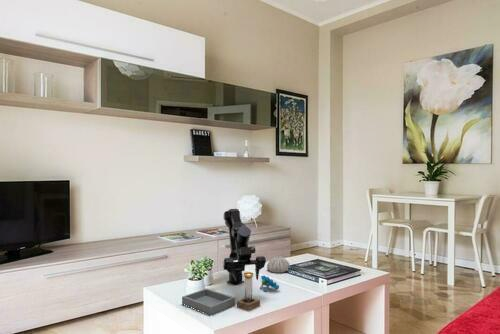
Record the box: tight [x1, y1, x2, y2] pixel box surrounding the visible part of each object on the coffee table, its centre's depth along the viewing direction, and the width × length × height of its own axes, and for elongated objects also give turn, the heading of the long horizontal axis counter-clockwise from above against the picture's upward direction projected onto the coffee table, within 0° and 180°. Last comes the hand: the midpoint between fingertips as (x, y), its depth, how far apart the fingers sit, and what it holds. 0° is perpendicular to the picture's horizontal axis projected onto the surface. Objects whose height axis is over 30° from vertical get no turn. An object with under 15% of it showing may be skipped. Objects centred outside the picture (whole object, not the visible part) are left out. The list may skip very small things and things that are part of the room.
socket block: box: [236, 297, 261, 312], centre depth 150 cm, size 7×7×2 cm
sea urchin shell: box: [266, 255, 291, 274], centre depth 204 cm, size 13×14×8 cm
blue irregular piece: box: [259, 275, 280, 292], centre depth 171 cm, size 11×6×10 cm
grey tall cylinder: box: [243, 271, 254, 303], centre depth 150 cm, size 4×4×14 cm
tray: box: [181, 288, 236, 316], centre depth 152 cm, size 18×14×4 cm
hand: (247, 280), depth 153 cm, fingers open, 9 cm apart
